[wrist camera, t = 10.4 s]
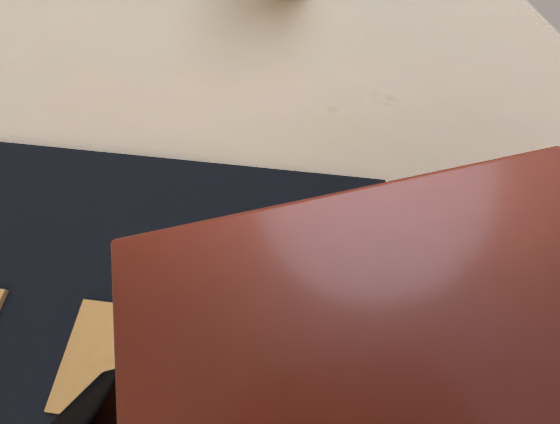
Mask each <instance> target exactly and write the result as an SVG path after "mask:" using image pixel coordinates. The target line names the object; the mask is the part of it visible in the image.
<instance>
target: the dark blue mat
mask: <svg viewBox="0 0 560 424" xmlns="http://www.w3.org/2000/svg"><path fill="white" fill-rule="evenodd" d="M384 182H385V180H379V179H369V178H359V177H349V176H339V175H329V174H319V173H308V172H298V171H288V170H278V169H268V168H258V167H248V166H238V165H228V164H218V163H207V162H197V161H187V160H177V159H167V158H157V157H147V156H137V155H127V154H117V153H106V152H96V151H86V150H76V149H66V148H56V147H46V146H36V145H26V144H16V143H6V142H0V424H50V423H51V422H52V421H53V420H54V419H55V418H56V417H57V416H58V415H59V414H60V413H61V412H62V411H63V410H64V409H65V408H66V407H67V406H68V405H69V404H70V403H71V402H72V401H73V400H74V399H75V398H76V397H77V396H78V395H79V394H80V393H81V392H82V391H83V390H84V389H85V388H86V387H87V386H88V385H90V384H91V383H92V382H93V381H94V380H95V379H96V378H97V377H98V376H99V375H100V374H101V373H102V372H104V371H107V370H111V369H115V355H114V327H113V298H112V269H111V242H112V240H114V239H117V238H122V237H127V236H132V235H136V234H141V233H146V232H151V231H155V230H160V229H165V228H170V227H174V226H179V225H184V224H189V223H193V222H198V221H203V220H208V219H213V218H217V217H222V216H227V215H232V214H236V213H241V212H246V211H251V210H255V209H260V208H265V207H270V206H274V205H279V204H284V203H289V202H293V201H298V200H303V199H308V198H312V197H317V196H322V195H327V194H332V193H336V192H341V191H346V190H351V189H355V188H360V187H365V186H370V185H374V184H379V183H384Z"/></svg>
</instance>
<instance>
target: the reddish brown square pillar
mask: <svg viewBox="0 0 560 424" xmlns="http://www.w3.org/2000/svg"><path fill="white" fill-rule="evenodd" d="M111 269H112V298H113V327H114V355H115V384H116V413H117V424H560V147H558V146H555V147H551V148H546V149H541V150H536V151H531V152H527V153H522V154H517V155H512V156H508V157H503V158H498V159H493V160H489V161H484V162H479V163H474V164H470V165H465V166H460V167H455V168H451V169H446V170H441V171H436V172H432V173H427V174H422V175H417V176H412V177H408V178H403V179H398V180H393V181H389V182H384V183H379V184H374V185H370V186H365V187H360V188H355V189H351V190H346V191H341V192H336V193H332V194H327V195H322V196H317V197H312V198H308V199H303V200H298V201H293V202H289V203H284V204H279V205H274V206H270V207H265V208H260V209H255V210H251V211H246V212H241V213H236V214H232V215H227V216H222V217H217V218H213V219H208V220H203V221H198V222H193V223H189V224H184V225H179V226H174V227H170V228H165V229H160V230H155V231H151V232H146V233H141V234H136V235H132V236H127V237H122V238H117V239H114V240H112V242H111Z"/></svg>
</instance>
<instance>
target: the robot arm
mask: <svg viewBox="0 0 560 424" xmlns="http://www.w3.org/2000/svg"><path fill="white" fill-rule="evenodd" d="M50 424H117V413H116V384H115V369H111V370H107V371H104V372H102V373H101V374H100V375H99V376H98V377H97V378H96V379H95V380H94V381H93V382H92V383H91V384H90V385H88V386H87V387H86V388H85V389H84V390H83V391H82V392H81V393H80V394H79V395H78V396H77V397H76V398H75V399H74V400H73V401H72V402H71V403H70V404H69V405H68V406H67V407H66V408H65V409H64V410H63V411H62V412H61V413H60V414H59V415H58V416H57V417H56V418H55V419H54V420H53V421H52V422H51V423H50Z"/></svg>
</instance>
